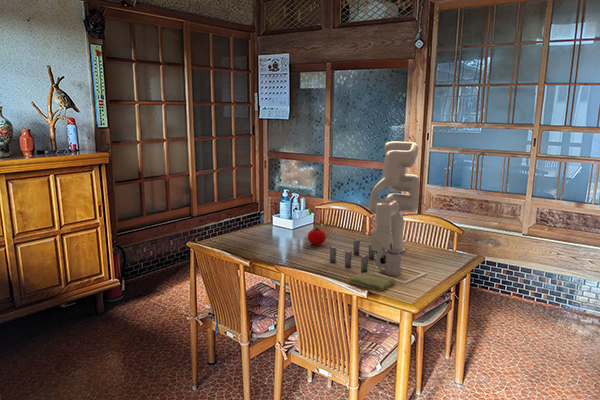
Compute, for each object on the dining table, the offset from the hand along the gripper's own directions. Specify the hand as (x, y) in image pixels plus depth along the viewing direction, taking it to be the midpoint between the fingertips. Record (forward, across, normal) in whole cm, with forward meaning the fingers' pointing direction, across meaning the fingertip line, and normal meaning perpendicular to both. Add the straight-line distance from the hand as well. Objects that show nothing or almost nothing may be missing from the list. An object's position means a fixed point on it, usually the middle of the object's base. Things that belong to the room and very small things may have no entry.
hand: (381, 264), depth 224 cm
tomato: (+2, -50, +6) cm, 51 cm away
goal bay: (+2, +10, 0) cm, 10 cm away
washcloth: (+3, +9, -18) cm, 21 cm away
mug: (+2, +6, -2) cm, 6 cm away
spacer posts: (+2, -13, 0) cm, 13 cm away
